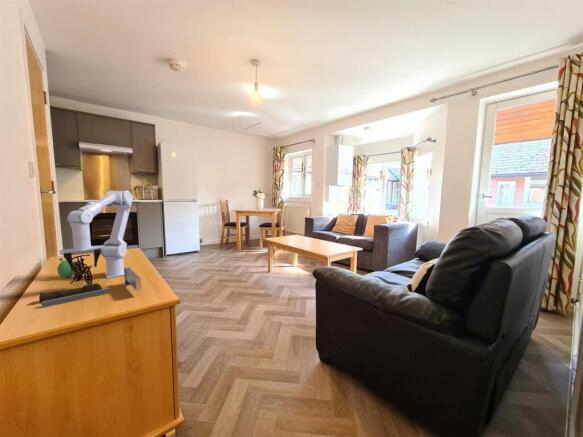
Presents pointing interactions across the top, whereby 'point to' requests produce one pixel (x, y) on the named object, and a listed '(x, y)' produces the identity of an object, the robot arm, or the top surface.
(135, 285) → the swing gate
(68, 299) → the bar
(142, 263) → the top surface
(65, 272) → the alien toy
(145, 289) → the top surface
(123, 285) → the gate base
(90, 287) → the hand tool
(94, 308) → the top surface
